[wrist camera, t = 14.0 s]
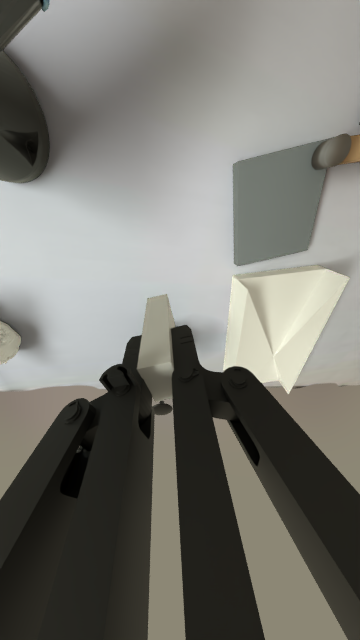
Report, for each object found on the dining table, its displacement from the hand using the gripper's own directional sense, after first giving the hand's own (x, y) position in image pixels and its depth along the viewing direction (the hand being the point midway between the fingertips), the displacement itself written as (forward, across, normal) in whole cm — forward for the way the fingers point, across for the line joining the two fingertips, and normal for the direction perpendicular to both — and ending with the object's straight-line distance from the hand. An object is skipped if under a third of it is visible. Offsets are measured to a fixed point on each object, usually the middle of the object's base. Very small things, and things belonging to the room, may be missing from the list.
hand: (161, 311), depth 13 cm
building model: (+29, +24, -35) cm, 51 cm away
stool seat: (+28, +24, +1) cm, 37 cm away
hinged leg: (+26, +38, +7) cm, 46 cm away
